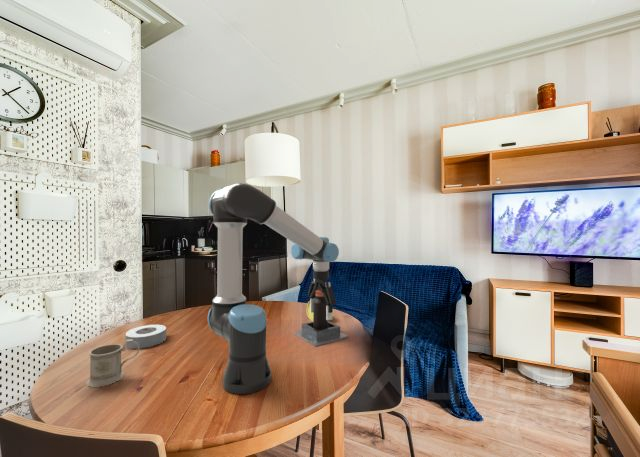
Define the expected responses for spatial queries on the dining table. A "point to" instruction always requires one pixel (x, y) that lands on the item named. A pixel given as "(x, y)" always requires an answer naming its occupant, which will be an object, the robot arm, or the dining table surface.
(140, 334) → the tape roll
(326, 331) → the duct collar
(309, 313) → the plastic component
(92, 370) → the mug
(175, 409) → the dining table surface
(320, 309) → the vinegar
